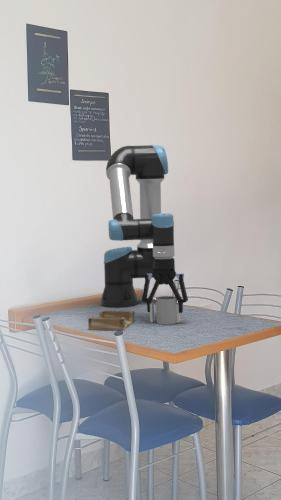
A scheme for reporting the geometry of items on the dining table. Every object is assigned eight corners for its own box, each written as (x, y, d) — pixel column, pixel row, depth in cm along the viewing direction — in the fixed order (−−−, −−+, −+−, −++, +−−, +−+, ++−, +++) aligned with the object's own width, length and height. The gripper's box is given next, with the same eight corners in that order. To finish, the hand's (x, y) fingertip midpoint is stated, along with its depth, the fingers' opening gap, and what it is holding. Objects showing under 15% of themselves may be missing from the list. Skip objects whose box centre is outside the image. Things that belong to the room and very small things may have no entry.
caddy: (102, 321, 233) (102, 310, 232) (134, 321, 230) (134, 311, 229) (88, 329, 218) (88, 318, 218) (122, 330, 215) (122, 319, 215)
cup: (162, 325, 221) (162, 300, 221) (149, 321, 230) (148, 296, 229) (181, 323, 225) (180, 298, 224) (166, 319, 233) (166, 294, 233)
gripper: (131, 258, 224) (133, 323, 226) (192, 258, 219) (193, 324, 221) (136, 256, 232) (138, 319, 233) (195, 256, 226) (197, 320, 228)
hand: (165, 321), depth 227 cm, fingers open, 9 cm apart
